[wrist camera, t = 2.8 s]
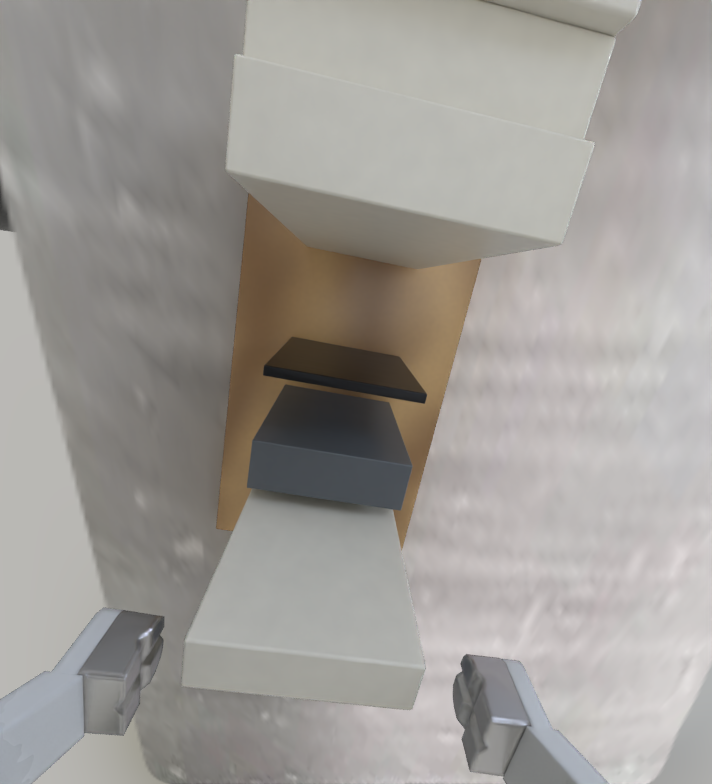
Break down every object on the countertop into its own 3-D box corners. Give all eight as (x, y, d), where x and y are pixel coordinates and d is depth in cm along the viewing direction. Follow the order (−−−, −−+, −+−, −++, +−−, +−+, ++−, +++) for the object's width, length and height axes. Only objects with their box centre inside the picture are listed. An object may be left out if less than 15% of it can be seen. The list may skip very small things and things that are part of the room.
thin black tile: (290, 343, 20) (262, 375, 13) (291, 336, 20) (263, 364, 13) (398, 363, 20) (425, 404, 13) (400, 356, 20) (428, 394, 13)
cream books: (306, 246, 18) (223, 171, 6) (322, 137, 17) (257, -265, 4) (418, 269, 19) (563, 245, 6) (442, 165, 17) (686, -127, 5)
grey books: (265, 519, 23) (221, 651, 15) (284, 383, 20) (244, 452, 12) (359, 533, 23) (367, 668, 15) (389, 402, 21) (418, 480, 13)
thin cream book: (275, 453, 21) (179, 688, 9) (278, 428, 21) (182, 640, 9) (374, 468, 22) (412, 712, 10) (379, 444, 22) (427, 668, 9)
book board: (220, 519, 24) (215, 529, 23) (261, 114, 17) (256, 104, 16) (398, 544, 25) (400, 554, 24) (499, 169, 18) (508, 163, 17)
